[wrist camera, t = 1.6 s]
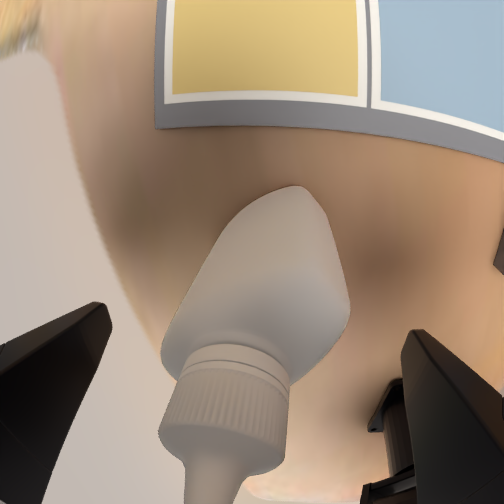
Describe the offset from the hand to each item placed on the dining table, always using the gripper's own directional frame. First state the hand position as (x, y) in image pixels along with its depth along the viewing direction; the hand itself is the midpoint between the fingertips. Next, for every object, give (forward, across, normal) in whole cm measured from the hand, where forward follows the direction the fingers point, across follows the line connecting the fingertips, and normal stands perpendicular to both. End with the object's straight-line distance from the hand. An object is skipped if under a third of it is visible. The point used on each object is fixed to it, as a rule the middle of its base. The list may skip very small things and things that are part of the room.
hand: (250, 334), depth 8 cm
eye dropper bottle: (+7, 0, 0) cm, 7 cm away
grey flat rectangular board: (+7, -4, -11) cm, 14 cm away
